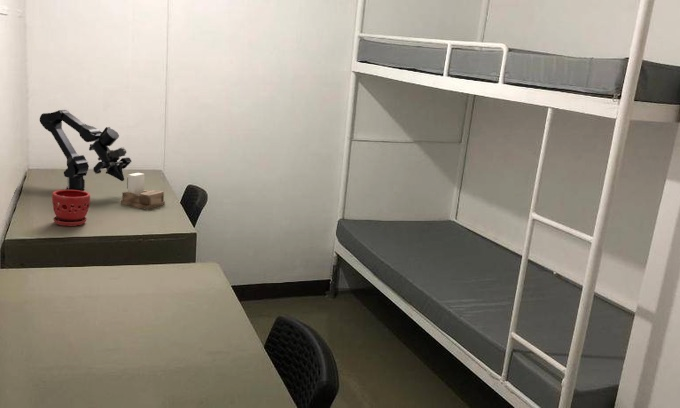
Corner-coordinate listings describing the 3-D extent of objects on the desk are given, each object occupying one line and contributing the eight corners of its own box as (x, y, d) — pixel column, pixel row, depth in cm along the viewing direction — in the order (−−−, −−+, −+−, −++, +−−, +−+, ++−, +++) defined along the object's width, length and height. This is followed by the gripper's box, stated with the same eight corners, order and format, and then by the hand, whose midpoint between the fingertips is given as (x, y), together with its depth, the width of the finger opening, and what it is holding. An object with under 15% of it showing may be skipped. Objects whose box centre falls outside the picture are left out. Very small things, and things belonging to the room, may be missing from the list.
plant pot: (73, 230, 230) (73, 198, 227) (44, 223, 234) (44, 192, 231) (97, 222, 242) (97, 192, 239) (69, 216, 246) (69, 187, 243)
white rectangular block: (125, 198, 274) (126, 174, 271) (135, 196, 279) (136, 172, 277) (134, 200, 272) (134, 175, 269) (143, 198, 278) (144, 173, 275)
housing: (120, 203, 272) (121, 190, 270) (139, 199, 282) (139, 186, 281) (146, 209, 267) (147, 195, 265) (164, 204, 277) (165, 191, 276)
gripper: (98, 143, 266) (118, 172, 265) (128, 139, 283) (147, 167, 281) (84, 158, 271) (104, 187, 269) (114, 154, 287) (133, 181, 286)
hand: (123, 180), depth 276 cm, fingers closed
